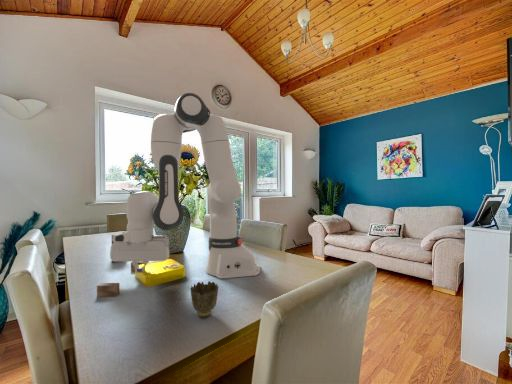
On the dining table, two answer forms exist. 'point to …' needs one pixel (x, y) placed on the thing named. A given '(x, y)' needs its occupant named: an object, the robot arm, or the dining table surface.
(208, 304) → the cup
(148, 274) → the element tile
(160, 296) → the dining table surface
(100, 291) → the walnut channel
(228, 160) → the robot arm
